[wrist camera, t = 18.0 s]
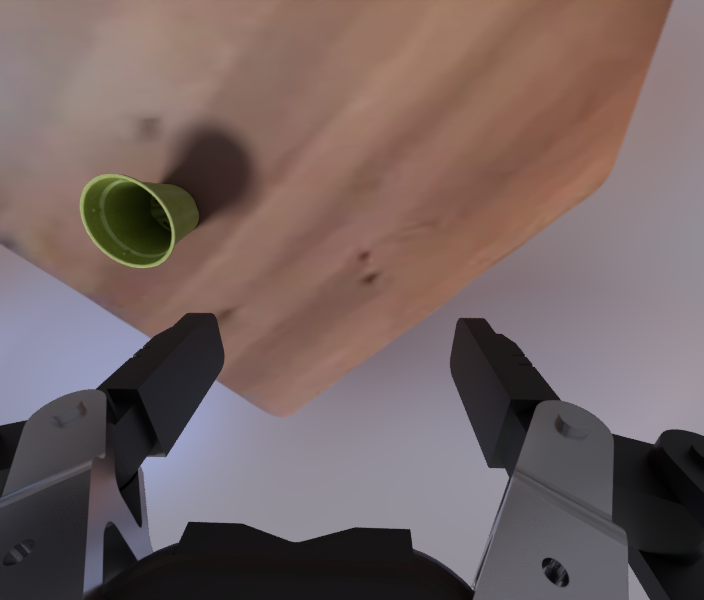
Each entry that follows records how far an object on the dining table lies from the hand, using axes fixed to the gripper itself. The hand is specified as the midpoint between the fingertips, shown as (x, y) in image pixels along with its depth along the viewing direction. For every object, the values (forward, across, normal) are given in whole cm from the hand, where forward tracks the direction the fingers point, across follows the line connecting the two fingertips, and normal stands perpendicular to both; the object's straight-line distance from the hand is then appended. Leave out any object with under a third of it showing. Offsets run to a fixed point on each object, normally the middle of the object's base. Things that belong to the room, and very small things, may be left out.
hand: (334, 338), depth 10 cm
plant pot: (+30, +23, +1) cm, 38 cm away
